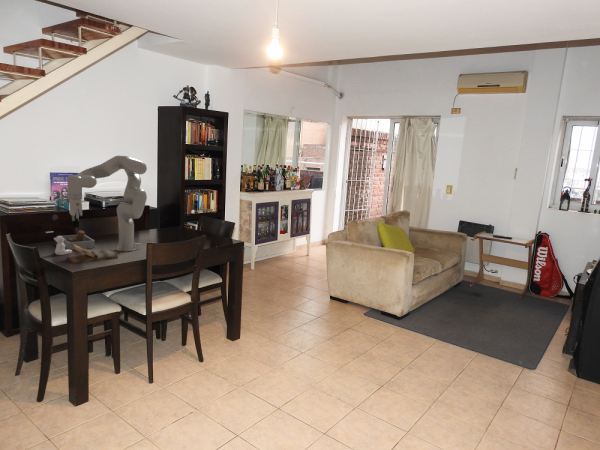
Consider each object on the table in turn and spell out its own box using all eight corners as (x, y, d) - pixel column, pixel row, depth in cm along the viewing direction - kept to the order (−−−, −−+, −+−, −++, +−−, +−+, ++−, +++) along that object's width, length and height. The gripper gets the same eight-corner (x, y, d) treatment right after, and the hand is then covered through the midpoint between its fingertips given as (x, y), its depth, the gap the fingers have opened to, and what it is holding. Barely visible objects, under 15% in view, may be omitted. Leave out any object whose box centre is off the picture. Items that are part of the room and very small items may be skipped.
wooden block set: (68, 251, 285) (72, 238, 282) (60, 244, 288) (64, 231, 285) (92, 247, 301) (96, 235, 298) (84, 241, 304) (88, 229, 301)
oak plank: (88, 253, 267) (89, 250, 268) (94, 257, 259) (95, 255, 259) (71, 246, 260) (72, 243, 261) (76, 250, 251) (77, 247, 252)
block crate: (84, 241, 307) (84, 234, 307) (94, 247, 290) (94, 240, 289) (59, 243, 297) (59, 236, 296) (68, 250, 279) (68, 242, 278)
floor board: (110, 253, 277) (110, 248, 277) (117, 258, 267) (117, 253, 267) (67, 258, 261) (67, 253, 260) (73, 263, 251) (73, 258, 250)
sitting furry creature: (72, 252, 274) (72, 234, 272) (65, 256, 265) (65, 237, 263) (57, 252, 273) (56, 233, 271) (50, 255, 265) (49, 236, 263)
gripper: (85, 197, 249) (86, 229, 251) (78, 195, 260) (78, 225, 262) (71, 198, 244) (71, 229, 247) (64, 195, 255) (65, 225, 257)
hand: (75, 227), depth 254 cm, fingers closed
